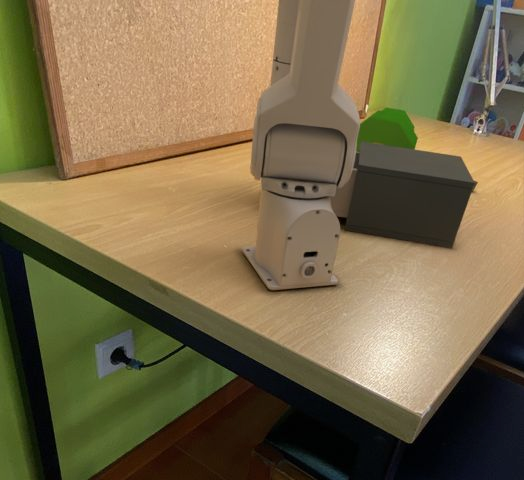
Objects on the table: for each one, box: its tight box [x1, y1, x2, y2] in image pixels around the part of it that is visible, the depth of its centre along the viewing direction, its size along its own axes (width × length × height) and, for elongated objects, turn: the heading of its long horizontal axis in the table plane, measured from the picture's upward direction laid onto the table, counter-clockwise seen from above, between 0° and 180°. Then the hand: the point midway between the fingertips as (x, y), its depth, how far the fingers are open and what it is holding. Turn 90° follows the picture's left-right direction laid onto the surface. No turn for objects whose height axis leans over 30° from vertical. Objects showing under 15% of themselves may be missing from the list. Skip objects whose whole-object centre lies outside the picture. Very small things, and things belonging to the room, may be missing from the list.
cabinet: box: [344, 141, 475, 249], centre depth 69 cm, size 14×12×9 cm
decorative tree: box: [356, 107, 419, 152], centre depth 86 cm, size 11×12×30 cm
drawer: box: [331, 151, 359, 219], centre depth 70 cm, size 18×11×7 cm, turn 80°
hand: (282, 173), depth 70 cm, fingers closed, pressing on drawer
